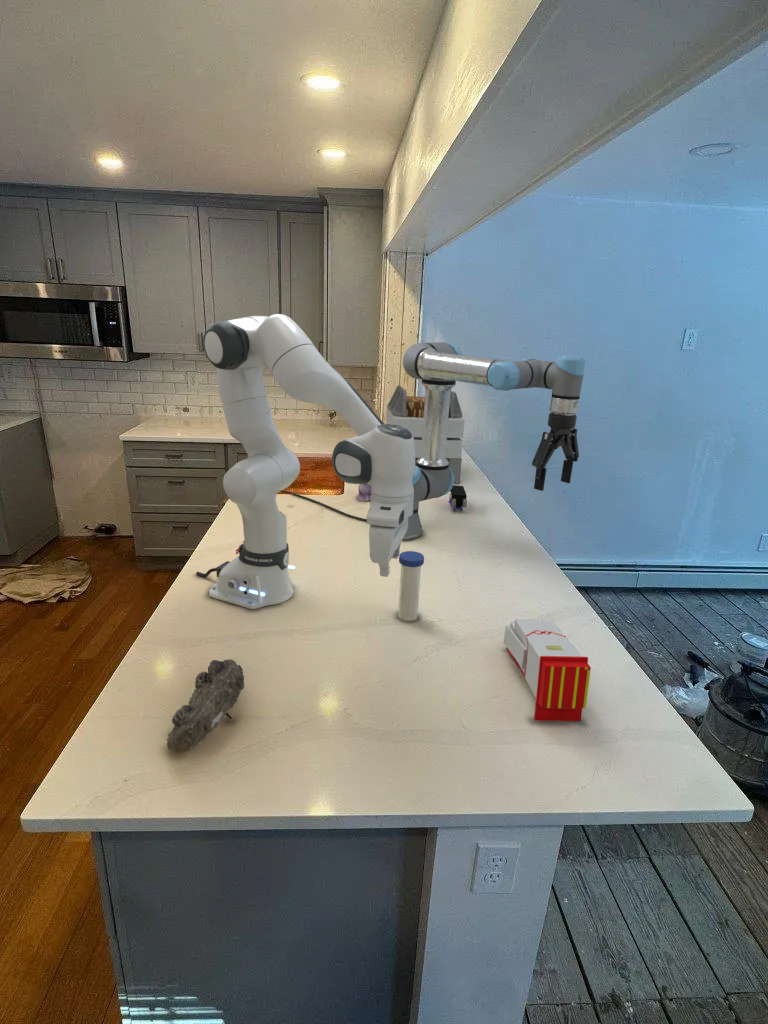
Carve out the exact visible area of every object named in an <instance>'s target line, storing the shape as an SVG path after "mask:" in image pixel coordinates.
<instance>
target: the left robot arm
mask: <svg viewBox="0 0 768 1024" xmlns="http://www.w3.org/2000/svg"><path fill="white" fill-rule="evenodd" d="M307 335H308V334H306V332H305V331H304V330H303V329H302V327H300V326H299V324H297V323H296V322H295V321H294V320H293V319H292V318H291V317H290V316H288V315H286V314H283V313H275V314H274V313H273V314H269V315H247V316H244V317H239V318H234V319H229V320H225V319H224V320H220V321H217V322H213V323H212V324H209V326H207V328H206V329H205V332H204V335H203V341H202V342H203V349H204V350H203V351H204V353H205V356H206V358H207V359H208V361H209V362H210V363H211V365H213V366H214V367H215V368H216V380H217V387H218V393H219V397H220V401H221V406H222V409H223V413H224V418H225V422H226V425H227V430H228V432H229V435H230V436H231V437H232V438H233V439H235V440H237V441H238V442H239V443H240V445H242V447H243V449H244V450H245V452H246V454H247V458H245V459H242V460H240V461H238V462H236V463H235V464H234V465H233V466H231V467H230V468H229V469H228V470H227V471H226V472H225V473H224V476H223V478H222V487H223V491H224V493H225V495H226V497H227V498H228V499H229V500H230V501H231V502H232V503H234V504H236V506H237V508H238V511H239V513H240V515H241V518H242V527H243V543H241V544H240V545H239V546H238V548H237V549H236V550H235V555H238V556H237V557H235V558H234V559H232V560H231V561H229V560H227V561H225V562H223V563H221V564H220V565H217V566H216V567H213V568H209V569H208V570H207V571H206V573H203V572H200V571H196V572H195V574H196V576H199V577H202V578H207V577H209V575H211V573H214V572H216V578H218V579H217V580H216V581H215V582H214V583H213V584H212V586H211V587H210V588H209V594H208V596H209V597H210V598H213V599H217V600H219V601H223V602H226V603H230V604H233V605H236V606H240V607H243V608H246V609H249V610H257V609H260V608H263V607H267V606H273V605H278V604H282V603H284V602H286V601H287V600H288V601H289V599H291V598H292V597H293V595H294V592H295V590H294V587H293V583H292V581H291V575H290V571H289V569H292V570H293V569H296V566H295V565H289V564H290V550H289V549H290V548H289V543H288V532H287V531H288V530H287V529H288V527H287V517H286V514H285V515H284V513H283V512H282V511H281V510H279V506H278V503H277V495H278V493H280V491H281V490H283V491H284V490H285V489H287V488H288V487H290V486H291V485H292V484H293V483H294V482H295V481H296V479H298V477H299V475H300V472H301V463H300V460H299V458H298V456H297V455H296V454H295V453H294V452H293V451H292V450H290V449H289V448H288V447H287V446H286V444H285V443H284V441H283V439H282V437H281V435H280V433H279V431H278V429H277V427H276V425H275V421H274V417H273V414H272V410H271V406H270V402H269V399H268V395H267V390H266V387H265V384H264V379H263V372H264V369H265V368H266V367H267V368H268V370H269V372H270V373H271V375H272V376H273V378H274V379H275V381H276V383H277V384H278V385H279V388H281V389H282V390H283V391H284V392H285V394H287V395H288V396H289V397H290V398H292V399H293V400H296V401H299V402H303V403H308V404H315V405H319V406H323V407H326V408H329V409H331V410H333V411H335V412H336V413H338V414H339V415H340V416H341V417H342V418H343V419H344V421H346V423H347V424H348V425H349V426H350V428H351V429H352V430H353V431H354V433H355V434H356V435H355V436H352V437H348V438H345V439H343V440H341V441H339V442H337V443H336V445H335V446H334V449H333V451H332V455H331V464H332V468H333V471H334V473H335V474H336V476H337V477H338V478H339V480H341V481H342V482H344V483H346V484H350V485H359V484H365V483H367V484H369V485H370V486H371V500H369V508H368V510H367V514H366V519H367V521H366V524H367V525H369V530H368V543H369V545H368V546H369V547H368V548H369V558H370V560H371V562H372V563H373V564H378V567H379V575H380V576H381V577H385V578H386V577H387V578H388V577H389V575H390V573H391V566H390V562H391V560H392V559H395V560H397V559H399V555H400V554H401V552H400V551H401V546H402V545H401V544H402V541H403V540H402V539H403V537H404V535H405V534H406V532H407V529H408V517H410V516H411V515H412V514H413V502H414V488H413V482H412V481H413V476H414V473H415V443H414V438H413V435H412V433H411V432H410V431H409V430H407V429H406V428H404V427H401V426H398V425H391V424H387V423H385V422H384V421H382V419H381V418H380V417H379V416H378V414H377V413H376V412H375V411H374V410H373V408H371V406H370V405H369V403H368V402H367V401H366V400H365V399H364V398H363V396H362V395H361V394H360V393H359V392H358V391H357V389H356V388H355V387H354V386H353V385H352V384H351V383H350V382H349V381H348V380H347V379H345V377H343V375H341V374H340V373H339V372H338V371H336V369H334V368H333V366H331V364H330V363H329V362H328V361H327V360H326V359H325V358H324V357H323V355H322V354H321V353H320V352H319V350H318V349H317V348H316V346H315V345H314V343H313V342H312V340H311V339H310V337H308V336H307Z"/></svg>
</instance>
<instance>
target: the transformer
mask: <svg viewBox="0 0 768 1024" xmlns="http://www.w3.org/2000/svg"><path fill="white" fill-rule="evenodd" d="M407 394H408V393H407V390H406V389H404V388H403V387H402V385H399V384H398V385H397V386H396V388H395V390H394V392H393V394H392V395H391V398H390V400H389V402H388V404H387V405H386V413H385V414H386V415H385V424H391V425H398V426H401V427H404V428H406V429H407V430H409V431H410V432H411V433H412V435H413V438H414V443H415V466H416V461H417V459H418V458H420V457H421V449H422V434H423V419H424V404H425V396H415V395H414V396H413V395H412V396H411V395H407ZM464 429H465V419H464V418H463V411H462V408H461V405H460V402H459V398H458V395H457V392H455V391H453V390H451V392H450V404H449V416H448V428H447V441H446V453H445V458H446V459H447V461H448V462H449V466H450V467H451V469H452V473H454V484H455V483H456V484H459V483H461V472H462V461H463V460H462V453H463V442H464V441H463V440H462V439H463V438H464V431H465V430H464Z"/></svg>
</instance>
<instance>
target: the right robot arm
mask: <svg viewBox="0 0 768 1024" xmlns="http://www.w3.org/2000/svg"><path fill="white" fill-rule="evenodd" d="M585 365H586V360H585V358H584V357H582V356H578V355H566V354H565V355H564V354H563V355H558V356H557V357H556V360H555V361H549V360H541V359H536V358H524V359H521V360H506V359H505V360H504V359H503V360H502V359H496V358H487V357H479V356H471V355H464V354H463V352H462V350H461V349H460V347H459V346H457V345H456V344H455V343H451V342H445V341H443V342H442V341H441V342H440V341H439V342H438V341H437V342H417V343H414V344H412V345H411V346H409V347H408V348H407V350H406V351H405V353H404V355H403V358H402V366H403V369H404V372H405V373H406V374H407V375H408V376H409V377H411V378H412V379H415V380H421V385H422V386H423V387H424V389H425V392H424V397H425V404H424V419H423V434H422V449H421V457H420V458H418V459H417V461H416V466H415V473H414V476H413V481H412V482H413V488H414V502H413V514H412V515H411V516H410V517H408V529H407V532H406V534H405V535H404V537H403V539H402V541H410V540H415V539H418V538H420V537H421V536H422V535H423V525H422V524H421V518H420V515H419V507H420V506H419V505H420V502H423V501H427V500H431V499H437V498H440V497H443V496H446V495H448V493H450V490H451V489H452V487H453V485H454V484H455V483H454V473H452V469H451V467H450V466H449V462H448V461H447V459H446V458H445V453H446V441H447V428H448V416H449V404H450V392H451V391H452V389H453V388H454V387H455V386H456V384H457V382H461V383H465V384H473V385H479V386H487V387H491V388H492V389H494V390H496V391H503V392H504V391H511V390H520V389H532V388H533V389H534V388H539V389H546V390H551V398H550V404H549V413H548V418H547V419H548V420H547V426H548V427H549V428H550V431H549V432H548V431H543V432H542V435H541V440H540V442H539V445H538V447H537V449H536V452H535V454H534V457H533V460H532V461H531V466H533V467H535V475H534V477H535V478H534V485H533V489H534V490H537V491H539V492H543V491H544V489H545V484H546V483H545V482H546V476H547V468H546V466H547V465H548V463H549V461H550V459H551V457H552V456H553V454H554V453H555V451H556V450H557V449H558V448H560V447H561V449H562V452H563V455H564V458H565V459H563V463H562V468H561V469H562V470H561V475H560V482H562V483H566V484H571V478H572V472H573V466H574V463H576V462H578V461H579V457H580V453H579V444H578V428H576V423H577V419H578V416H577V414H578V412H579V411H578V410H579V406H580V397H581V391H582V385H583V380H584V376H585ZM279 493H283V494H284V493H285V494H288V495H292V496H295V497H298V498H301V499H305V500H308V501H309V502H313V503H316V504H318V505H319V506H323V507H325V508H328V509H330V510H332V511H334V512H336V513H339V514H341V515H343V516H346V517H348V518H352V519H356V520H359V521H363V522H367V518H364V517H363V518H362V517H359V516H356V515H352V514H349V513H347V512H344V511H341V510H339V509H336V508H334V507H332V506H330V505H328V504H326V503H323V502H320V501H318V500H315V499H313V498H310V497H307V496H304V495H301V494H298V493H295V492H291V491H287V490H284V489H283V490H281V491H279Z"/></svg>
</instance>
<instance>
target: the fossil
mask: <svg viewBox="0 0 768 1024" xmlns="http://www.w3.org/2000/svg"><path fill="white" fill-rule="evenodd" d="M243 670H244V669H243V667H242V665H240V664H237V662H236V661H235V660H234V659H232V658H231V659H227V658H226V659H224V660H223V661H222V660H217V659H212V660H211V661H210V663H209V665H208V666H207V671H201V672H199V673H198V674H197V675H196V676H195V680H194V684H195V685H194V687H195V689H194V690H193V693H192V694H191V697H190V698H189V700H188V704H184V705H182V706H181V707H180V709H177V710H176V711H175V713H174V715H173V716H172V718H171V723H172V724H173V727H172V730H171V731H170V732H168V734H167V738H166V741H167V742H166V745H167V749H168V750H169V751H173V752H174V753H176V754H178V753H182V752H188V751H189V752H192V751H193V750H195V748H196V747H197V746H199V744H200V743H201V742H203V741H204V740H205V739H206V738H207V737H208V736H209V735H210V734H211V733H212V732H214V730H215V729H217V727H218V726H219V724H220V722H221V721H222V720H223V719H224V718H225V716H226V717H227V719H229V720H233V717H232V715H230V714H229V710H230V709H231V708H234V706H235V704H236V703H237V702H238V699H239V697H240V695H241V693H242V691H243V690H245V689H244V688H245V675H244V671H243Z"/></svg>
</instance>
